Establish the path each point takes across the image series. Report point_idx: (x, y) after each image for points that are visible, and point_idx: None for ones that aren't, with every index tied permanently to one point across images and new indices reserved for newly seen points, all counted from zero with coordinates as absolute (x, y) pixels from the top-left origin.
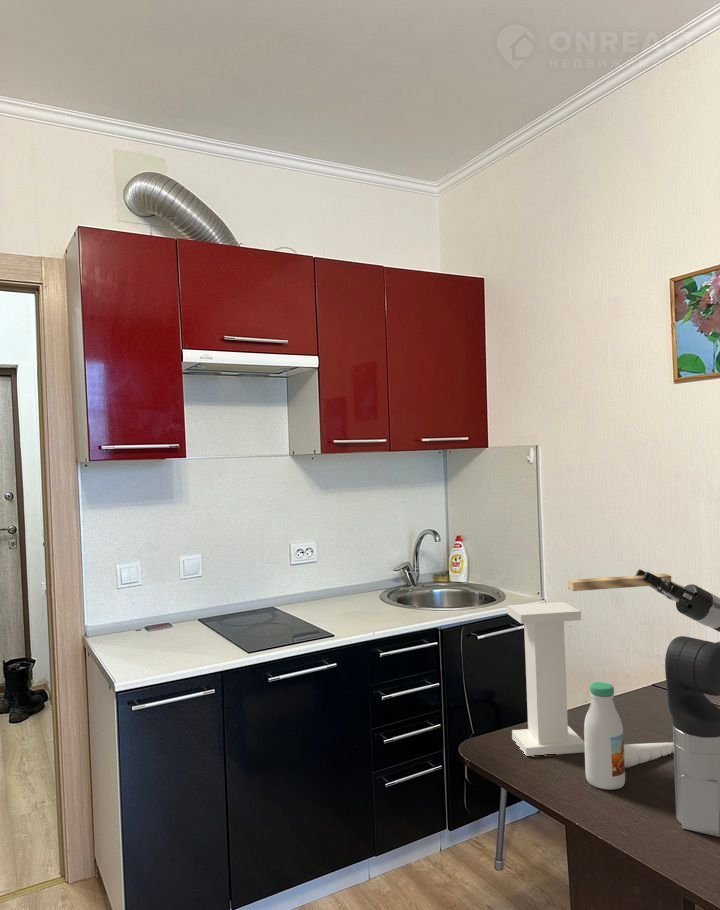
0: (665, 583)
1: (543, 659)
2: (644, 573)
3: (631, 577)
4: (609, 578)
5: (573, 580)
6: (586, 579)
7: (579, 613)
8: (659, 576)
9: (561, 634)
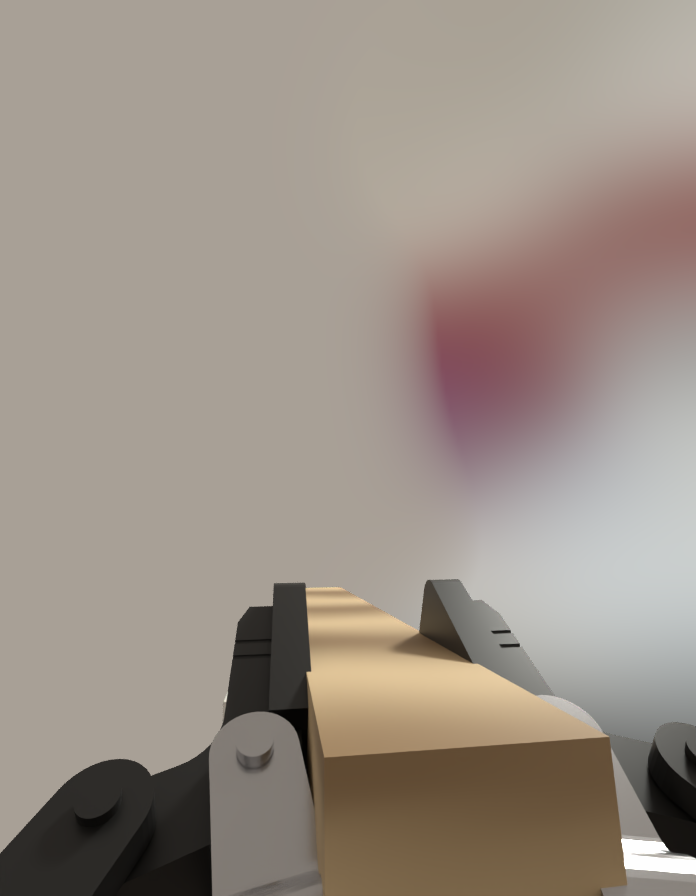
0: (156, 787)
1: None
2: (445, 628)
3: (340, 622)
4: (338, 604)
5: (329, 588)
6: (338, 593)
7: (223, 709)
8: (322, 682)
9: None
